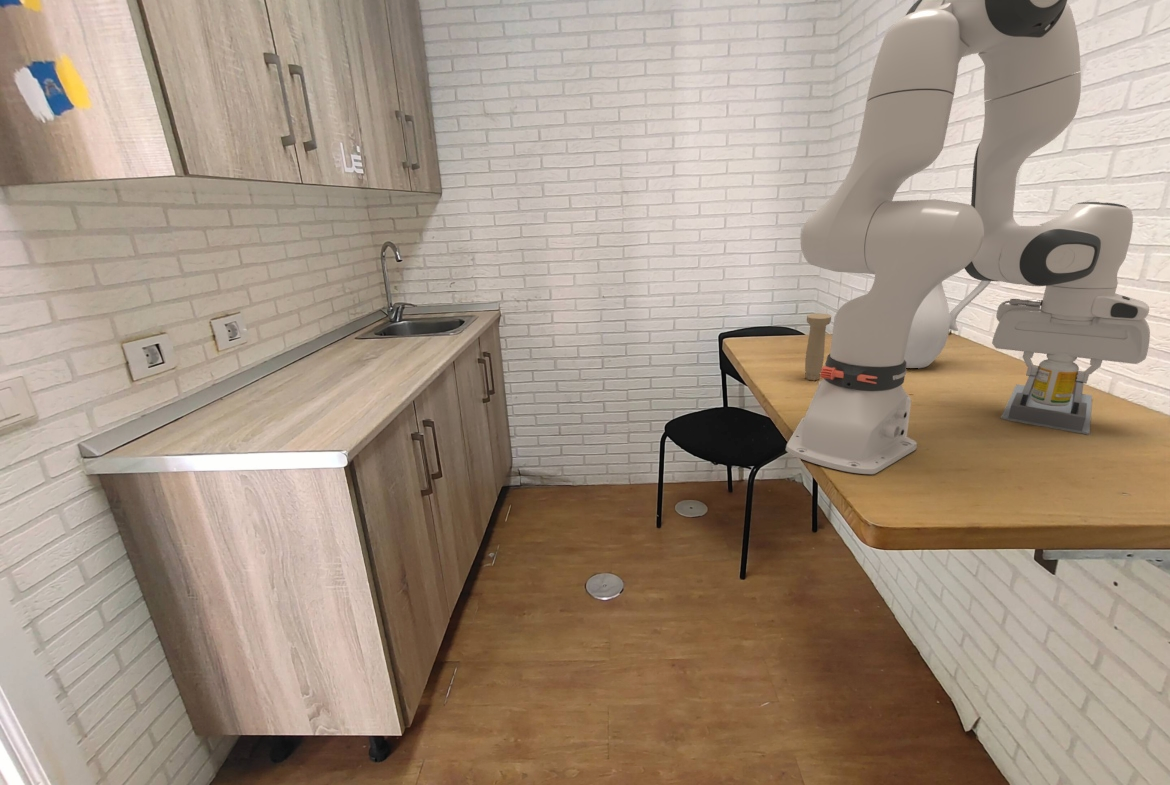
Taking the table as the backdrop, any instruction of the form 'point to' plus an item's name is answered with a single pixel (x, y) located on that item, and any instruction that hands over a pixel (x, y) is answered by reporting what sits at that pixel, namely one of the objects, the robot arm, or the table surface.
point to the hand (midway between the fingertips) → (1055, 378)
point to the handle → (816, 345)
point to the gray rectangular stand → (1050, 409)
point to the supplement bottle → (1055, 380)
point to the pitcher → (934, 326)
